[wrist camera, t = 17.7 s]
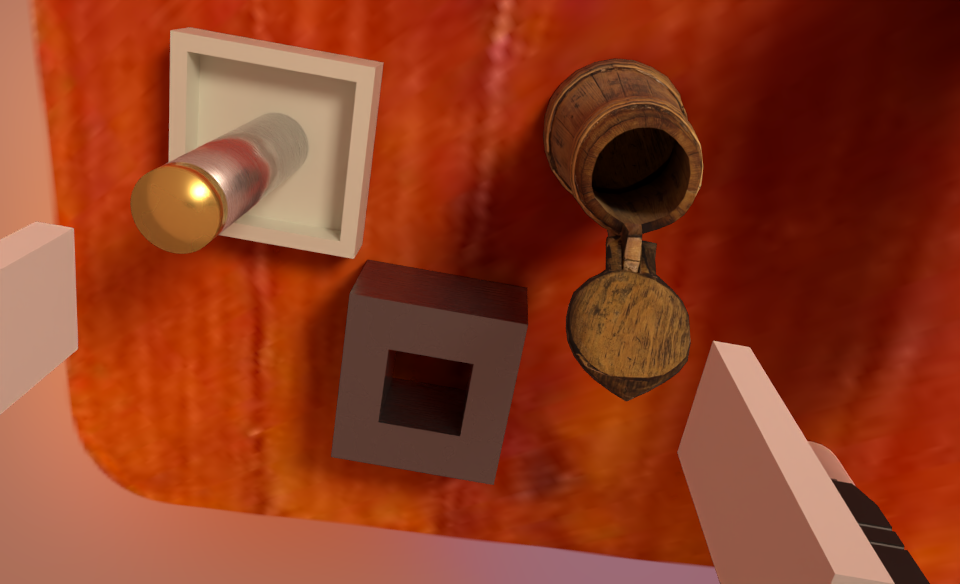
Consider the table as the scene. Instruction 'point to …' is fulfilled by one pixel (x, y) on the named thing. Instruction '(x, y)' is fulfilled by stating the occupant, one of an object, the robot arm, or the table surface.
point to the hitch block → (418, 406)
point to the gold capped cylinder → (217, 182)
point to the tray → (302, 96)
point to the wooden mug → (625, 216)
